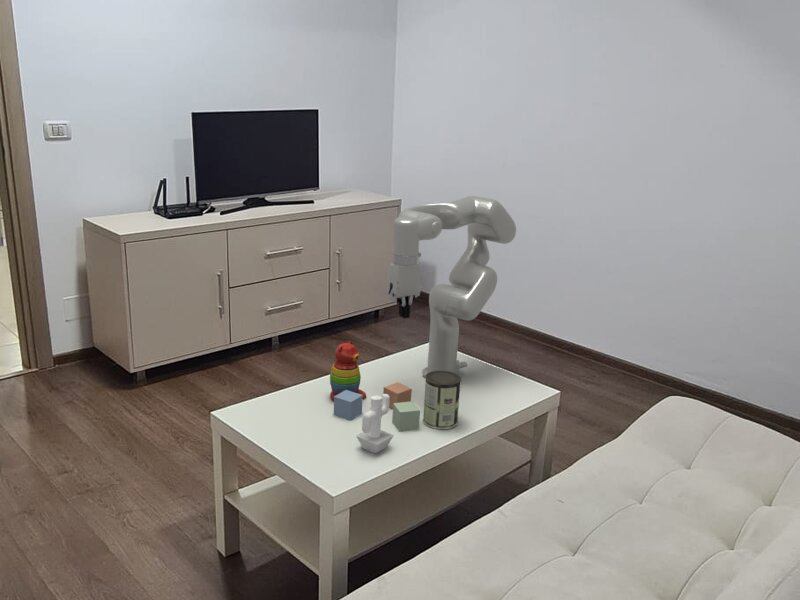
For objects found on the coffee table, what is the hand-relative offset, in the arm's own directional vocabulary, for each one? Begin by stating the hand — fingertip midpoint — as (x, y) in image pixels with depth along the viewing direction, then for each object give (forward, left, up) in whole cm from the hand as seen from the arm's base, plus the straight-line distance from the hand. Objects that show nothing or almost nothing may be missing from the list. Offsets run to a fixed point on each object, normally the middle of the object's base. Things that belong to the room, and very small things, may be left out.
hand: (404, 316), depth 225 cm
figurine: (+25, +25, -26) cm, 44 cm away
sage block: (+10, +18, -26) cm, 33 cm away
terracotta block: (+5, +6, -26) cm, 27 cm away
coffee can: (0, +21, -26) cm, 33 cm away
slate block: (+21, +4, -26) cm, 34 cm away
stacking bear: (+16, -6, -26) cm, 31 cm away
